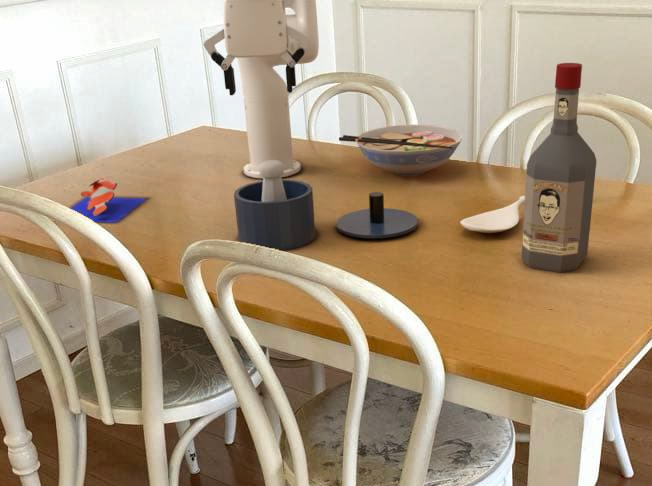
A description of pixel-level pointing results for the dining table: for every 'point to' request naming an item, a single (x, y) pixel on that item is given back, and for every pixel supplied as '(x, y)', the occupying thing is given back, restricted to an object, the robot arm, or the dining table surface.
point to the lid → (377, 220)
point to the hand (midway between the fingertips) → (261, 92)
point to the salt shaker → (272, 181)
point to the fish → (105, 203)
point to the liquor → (560, 185)
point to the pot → (275, 216)
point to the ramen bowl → (407, 147)
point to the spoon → (495, 219)
